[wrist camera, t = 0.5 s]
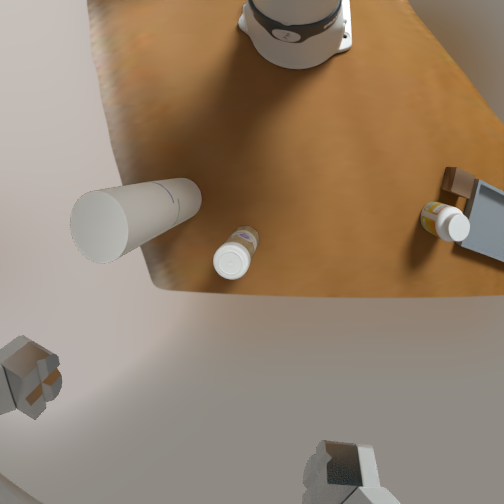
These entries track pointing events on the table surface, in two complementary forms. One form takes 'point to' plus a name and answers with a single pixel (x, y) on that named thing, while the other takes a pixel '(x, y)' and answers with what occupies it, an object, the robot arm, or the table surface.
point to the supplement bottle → (445, 221)
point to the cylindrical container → (130, 216)
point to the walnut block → (458, 182)
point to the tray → (485, 220)
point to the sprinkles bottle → (236, 253)
